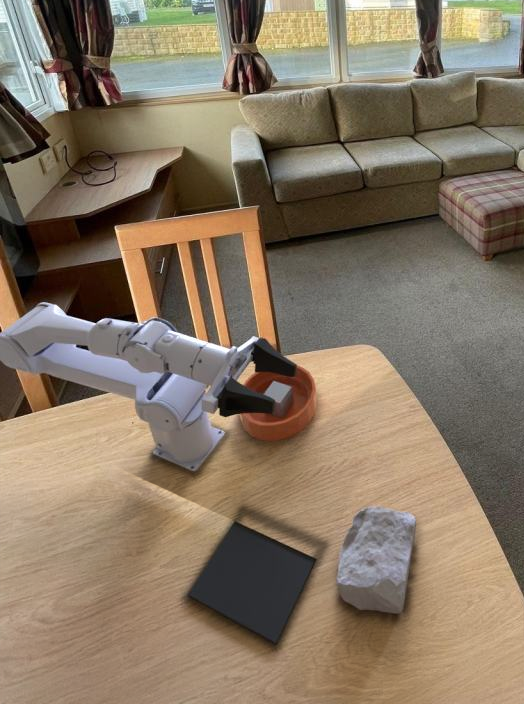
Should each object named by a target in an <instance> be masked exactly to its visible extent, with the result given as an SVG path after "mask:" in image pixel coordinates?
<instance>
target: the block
mask: <svg viewBox="0 0 524 704" xmlns="http://www.w3.org/2000/svg"><path fill="white" fill-rule="evenodd" d="M264 395H267V396H269V397H271V398H273V399H274V400H275V406H274V412H273V413H272V414H271V415H274V416H277V417H279V418H283V417H284V416H285V414H286V413H287V411H288V410H289V408H290V407H291V405H292V404H293V402H294V399H293V393H292V387H290V386H287V385H284V384H281V383H278V382H275V381H273V383H272V384H271V385H270V386H269V388H268V389H267V390H266V392H265V393H264ZM268 414H270V413H268Z"/></svg>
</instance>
